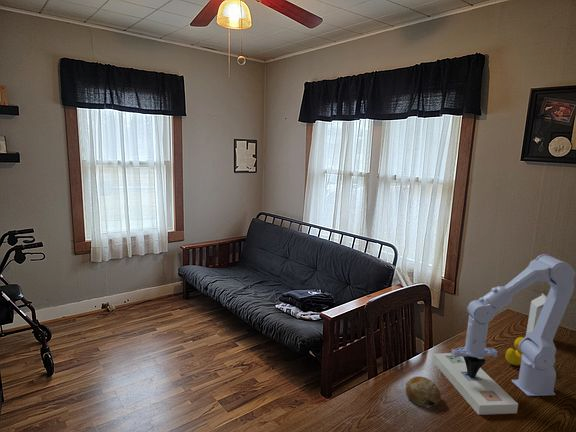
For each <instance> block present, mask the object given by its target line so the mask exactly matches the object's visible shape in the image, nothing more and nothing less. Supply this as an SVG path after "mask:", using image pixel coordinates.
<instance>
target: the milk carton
mask: <svg viewBox="0 0 576 432" xmlns="http://www.w3.org/2000/svg"><path fill="white" fill-rule="evenodd" d="M546 298H547V296H546V295H545V294H544V293H543V292H542V293H541V295H539V296H537V297H536V298H535V299H532V300H531V301H530V308H529V314H528V320H527V325H526V326H527V327H526V333H525V335H526V334H527V333H529V332H532V331H533V330H534V328H535V325H536V323H537V320H538V318H539V315H540V313H541V310H542V308H543V306H544V303H545V301H546Z"/></svg>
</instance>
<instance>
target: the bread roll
mask: <svg viewBox="0 0 576 432" xmlns="http://www.w3.org/2000/svg"><path fill="white" fill-rule="evenodd" d="M405 386H406V387H405V394H406V397H407V398H408V400H410V401H411V402H412V403H414V404H415V405H417V406H419V405H420V406H419V407H423V408H426V409H429V408H431V407H434V406H435V405H439V404H440V401H441V399H442V397H441V391H440V388H439V387H438V386H437V385H436V383H435V382H434V381H432V380H431V379H429V378H428V377H424V376H419V375H418V376H414V377H412V378H409V380H407V381H406V382H405Z"/></svg>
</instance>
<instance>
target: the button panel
mask: <svg viewBox="0 0 576 432" xmlns="http://www.w3.org/2000/svg"><path fill="white" fill-rule="evenodd" d="M432 354H433V355H432V362H433V363H434V365H435V366H436V367H437V368H438V369H439V370H440V371H441V373H442V374H443V375H444V376H445V378H446V379H447V380H448V381H449V382H450V383H451V384H452V386H453V387H454V388H455V389H456V390H457V392H458V394H459V395H461V397H463V399H464V400H465V401H466V402H467V403H468V404H469V406H470V407H471V408H472V409H473V411H475V413H476V414H477V415H479V416H480V415H483V416H484V415H506V414H507V415H508V414H517V413H518V408H519V403H518V402H517V401H516V400H515V399H514V398H513V397H512V396H511V395H509V394H508V393H507V392H506V390H504V389H503V388H502V386H500V385H499V384H498V383H497V382H496V381H495V380H494V379H492V377H490V376H489V375H488V373H486V372H485V370H483V369H482V367H480V369H479V370H478V372H477V374H476V376H477V377H478V378H479V379H480V380H477V381H468V380H467V379H466V377H465V376H464V375H463V374H462V373H467V367H466V363H465V360H464V358H463V357H458V358H459V359H460V360H461V361H462V362H463V363H451V361H450V360H449V359H448V358H447V357H453V356H452V355H451V352H447V353H445V352H444V353H439V352H437V353H432ZM480 392H493V393H494V394H495V395H496V396H497V397H498V398H499V399H500V400H501V401H487V400H486V399H485V398H484V397H483V396H482V395H481V393H480Z"/></svg>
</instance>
